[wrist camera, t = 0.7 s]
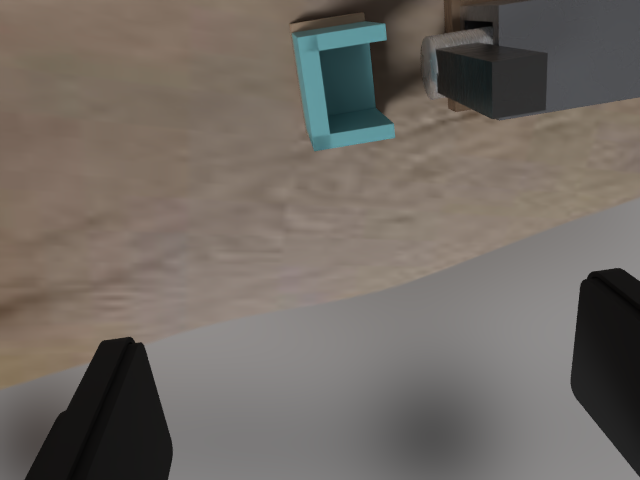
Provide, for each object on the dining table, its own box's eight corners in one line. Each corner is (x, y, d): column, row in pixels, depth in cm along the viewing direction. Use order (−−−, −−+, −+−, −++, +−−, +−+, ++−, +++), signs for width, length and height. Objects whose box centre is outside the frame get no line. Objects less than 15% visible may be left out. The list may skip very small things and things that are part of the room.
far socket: (360, 12, 34) (384, 13, 27) (371, 120, 37) (395, 146, 30) (289, 23, 34) (295, 27, 27) (305, 131, 37) (315, 159, 30)
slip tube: (601, 5, 33) (758, 3, 22) (597, 66, 34) (742, 91, 24) (418, 35, 32) (491, 47, 22) (422, 94, 34) (492, 132, 23)
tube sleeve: (609, -27, 34) (695, -37, 28) (601, 83, 37) (677, 99, 30) (443, -1, 34) (489, -4, 27) (448, 108, 37) (490, 130, 30)
